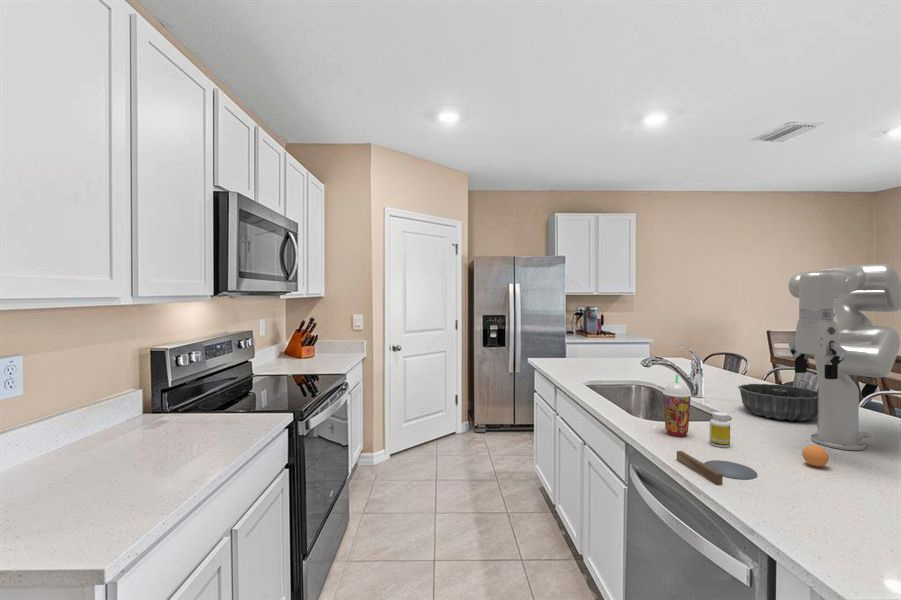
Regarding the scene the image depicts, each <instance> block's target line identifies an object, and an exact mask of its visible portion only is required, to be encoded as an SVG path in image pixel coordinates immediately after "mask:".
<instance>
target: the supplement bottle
mask: <svg viewBox="0 0 901 600" xmlns="http://www.w3.org/2000/svg"><path fill="white" fill-rule="evenodd" d="M728 418H729V417H728V413H726V412H720V411H713V412H712V418H711V419H710V420H709V444H710V445H712V446H714V447H716V448H717V447H719V448H729V447H730V446H731V423H730V421H729V420H728Z"/></svg>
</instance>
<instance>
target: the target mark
mask: <svg viewBox="0 0 901 600" xmlns="http://www.w3.org/2000/svg"><path fill="white" fill-rule="evenodd" d="M704 464H705V465H707V466H709V467H711V468H712V469H714V470H716V471H717V472H719V473H721V474H723V476H724V478H727V479H728V478H729V479H733V480H746V481H747V480H753V478H754V479H756V478H757V477H758V473H757V472H756V471H755V469H753V468H752V467H751V468H750V467H749V466H747V465H744V464H741V463H737V462H733V461H727V460H718V459H717V460H715V459H713V460H708V461H705V462H704Z"/></svg>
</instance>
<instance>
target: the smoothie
mask: <svg viewBox="0 0 901 600" xmlns="http://www.w3.org/2000/svg"><path fill="white" fill-rule="evenodd" d="M662 398H663V399H662V400H663V413H664V414H663V415H664V425H665V426H664V429H665V431H666V433H667V434H668V435H670V436H673V437H677V436H678V437H682V438H683V437H686V436H687V433H688V432H689V425H690V424H689V423H690V412H691V411H690V410H691V398H692V394H691V393H690V391H689V388H687V387H686V386H685V385H684V384H682V383H681V382H679V374H675V382H672V383H669V384H668V385H667V386H666V387H665V389H664V390H663V391H662ZM678 437H677V438H678Z"/></svg>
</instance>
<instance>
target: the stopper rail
mask: <svg viewBox="0 0 901 600" xmlns="http://www.w3.org/2000/svg"><path fill="white" fill-rule="evenodd" d="M676 461H678V462H679V463H681V464H682V465H684V466H686V467H687V468H689V469H691V470H693V471H694V472H695V473H697V474H699V475H700V476H702V477H704V478H705V479H706V480H709V482H712V483H714V484H715V485H717V486H718V485H719V486H720V485H723V474H721V473H719V472H717V471H716V470H714V469H712V468H711V467H709V466H707V465H705V464H704V463H705V462H704V463H703V462H702V461H700V460H698V459H696V458H695V457H693V456H691V455H690V454H688V453H687V452H685V451H683V450H677V451H676Z"/></svg>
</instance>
